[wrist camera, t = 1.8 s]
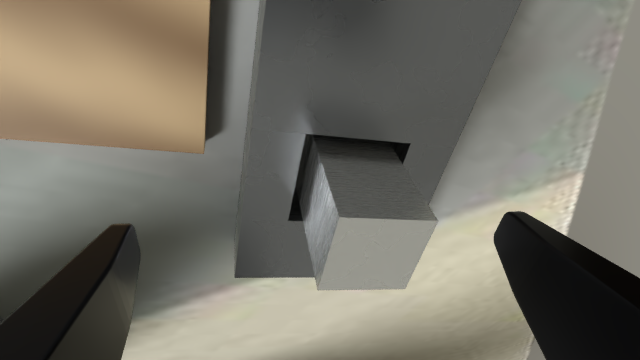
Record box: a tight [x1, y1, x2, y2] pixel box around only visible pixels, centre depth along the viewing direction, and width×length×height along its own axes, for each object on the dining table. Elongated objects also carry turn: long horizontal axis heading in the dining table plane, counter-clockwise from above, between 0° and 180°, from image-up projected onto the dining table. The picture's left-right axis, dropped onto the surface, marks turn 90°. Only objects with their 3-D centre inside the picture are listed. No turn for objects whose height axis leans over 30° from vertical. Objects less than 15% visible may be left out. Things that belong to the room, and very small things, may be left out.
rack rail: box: [235, 0, 522, 278], centre depth 18 cm, size 22×10×3 cm, turn 169°
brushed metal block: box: [295, 134, 438, 290], centre depth 19 cm, size 4×4×8 cm
